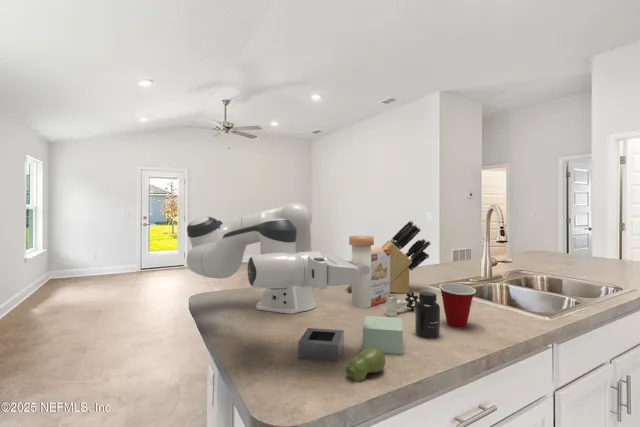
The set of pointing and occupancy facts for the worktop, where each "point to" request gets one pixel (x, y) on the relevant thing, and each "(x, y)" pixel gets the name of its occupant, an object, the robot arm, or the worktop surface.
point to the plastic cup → (457, 303)
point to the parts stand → (383, 334)
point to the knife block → (404, 257)
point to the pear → (366, 363)
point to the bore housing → (321, 344)
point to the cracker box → (380, 275)
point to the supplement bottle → (427, 316)
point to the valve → (399, 303)
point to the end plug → (363, 286)
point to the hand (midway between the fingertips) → (364, 266)
